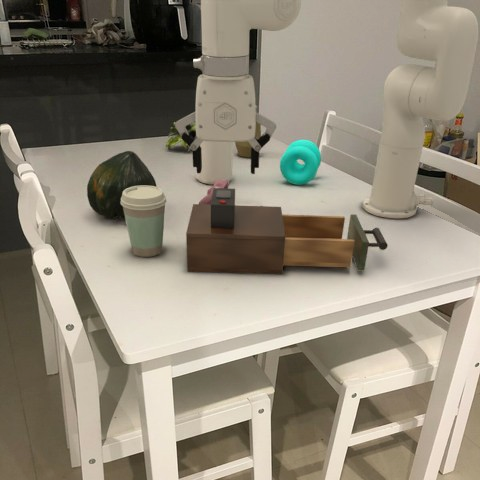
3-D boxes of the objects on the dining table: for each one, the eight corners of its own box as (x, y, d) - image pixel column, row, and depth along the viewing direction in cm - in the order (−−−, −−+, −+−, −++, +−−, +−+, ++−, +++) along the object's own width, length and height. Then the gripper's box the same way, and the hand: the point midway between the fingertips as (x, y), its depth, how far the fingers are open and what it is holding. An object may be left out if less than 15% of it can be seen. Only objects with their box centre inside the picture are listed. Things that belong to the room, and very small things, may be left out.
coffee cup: (148, 238, 110) (144, 181, 104) (177, 250, 106) (175, 191, 99) (116, 251, 105) (109, 191, 98) (145, 264, 100) (141, 203, 94)
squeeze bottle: (231, 152, 166) (232, 90, 157) (255, 151, 169) (258, 89, 159) (239, 159, 160) (240, 95, 150) (264, 158, 162) (267, 94, 152)
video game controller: (212, 217, 125) (226, 193, 121) (195, 207, 124) (208, 182, 120) (222, 203, 133) (235, 179, 129) (206, 193, 132) (219, 169, 128)
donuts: (277, 184, 142) (280, 146, 136) (284, 173, 150) (286, 136, 145) (315, 188, 140) (319, 149, 135) (319, 176, 148) (323, 140, 143)
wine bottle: (237, 183, 141) (240, 58, 125) (203, 187, 138) (202, 59, 122) (224, 173, 148) (226, 53, 132) (192, 176, 145) (189, 54, 129)
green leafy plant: (190, 163, 174) (210, 131, 171) (192, 166, 164) (214, 132, 161) (160, 142, 170) (180, 109, 167) (161, 145, 160) (182, 109, 157)
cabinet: (278, 241, 111) (281, 206, 107) (282, 274, 98) (285, 236, 94) (193, 239, 111) (193, 203, 106) (187, 271, 98) (186, 233, 94)
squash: (69, 186, 119) (89, 144, 108) (126, 175, 129) (149, 135, 117) (98, 240, 118) (121, 203, 106) (153, 225, 127) (179, 190, 116)
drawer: (373, 241, 110) (378, 215, 107) (388, 271, 99) (393, 243, 95) (272, 238, 110) (274, 211, 107) (275, 268, 98) (277, 239, 95)
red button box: (234, 210, 104) (235, 187, 102) (233, 228, 97) (234, 204, 94) (213, 209, 104) (213, 186, 102) (210, 227, 97) (210, 203, 94)
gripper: (169, 70, 83) (175, 177, 93) (280, 71, 83) (275, 178, 93) (175, 63, 89) (180, 164, 99) (277, 64, 89) (273, 165, 99)
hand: (226, 171), depth 96 cm, fingers open, 9 cm apart
